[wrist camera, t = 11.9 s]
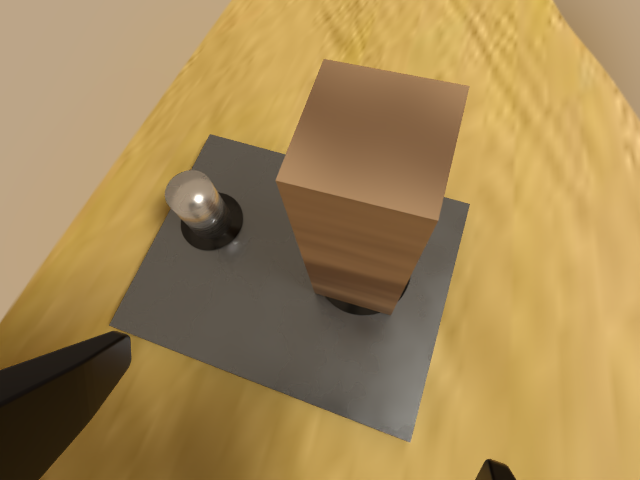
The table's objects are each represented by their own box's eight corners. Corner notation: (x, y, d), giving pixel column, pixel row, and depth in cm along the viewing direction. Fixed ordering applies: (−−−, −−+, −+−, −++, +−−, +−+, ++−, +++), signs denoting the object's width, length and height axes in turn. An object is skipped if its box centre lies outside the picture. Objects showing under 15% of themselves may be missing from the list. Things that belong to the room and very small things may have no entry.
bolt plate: (407, 440, 21) (423, 453, 16) (120, 328, 25) (63, 311, 20) (464, 212, 26) (491, 169, 21) (215, 144, 29) (188, 94, 24)
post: (390, 315, 22) (438, 220, 10) (314, 292, 23) (275, 180, 11) (409, 243, 24) (469, 86, 12) (336, 224, 25) (323, 59, 13)
